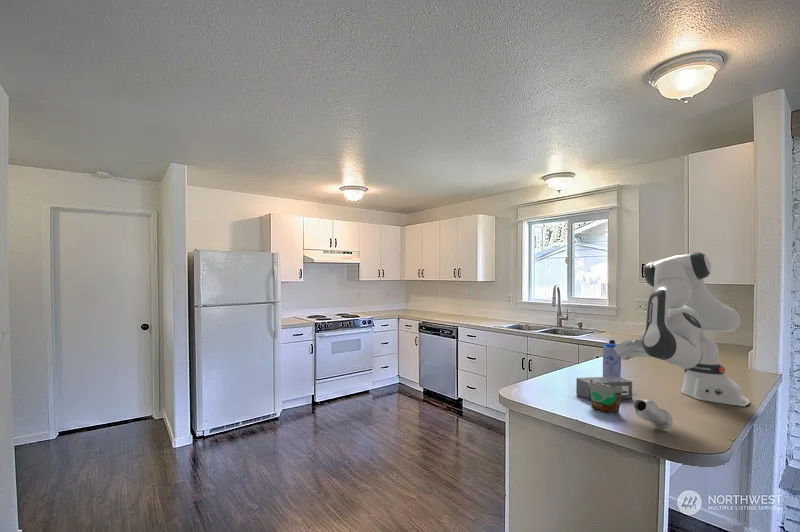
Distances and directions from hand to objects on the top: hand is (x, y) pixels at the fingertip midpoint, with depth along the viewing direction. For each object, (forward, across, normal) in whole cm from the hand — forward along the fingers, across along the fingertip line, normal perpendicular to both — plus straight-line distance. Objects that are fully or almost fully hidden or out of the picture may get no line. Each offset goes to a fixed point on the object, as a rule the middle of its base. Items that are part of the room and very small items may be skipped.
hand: (623, 357), depth 151 cm
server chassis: (+20, +5, -8) cm, 22 cm away
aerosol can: (+30, +27, +2) cm, 40 cm away
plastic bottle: (-6, -6, -26) cm, 27 cm away
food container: (+11, -11, -16) cm, 22 cm away
